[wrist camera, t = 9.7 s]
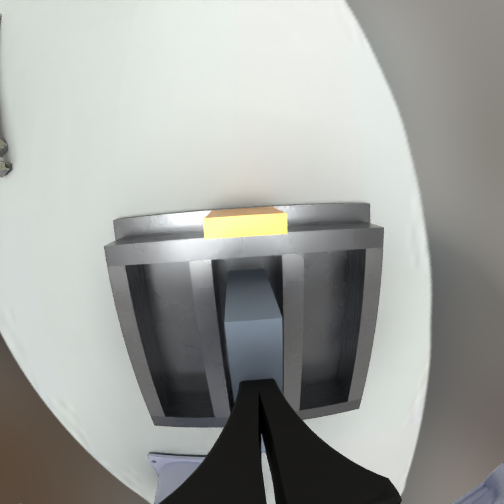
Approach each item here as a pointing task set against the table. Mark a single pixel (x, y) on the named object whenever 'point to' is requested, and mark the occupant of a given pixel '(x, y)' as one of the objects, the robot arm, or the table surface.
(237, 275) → the panel
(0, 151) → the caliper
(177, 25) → the table surface
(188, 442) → the table surface
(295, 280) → the panel rack
